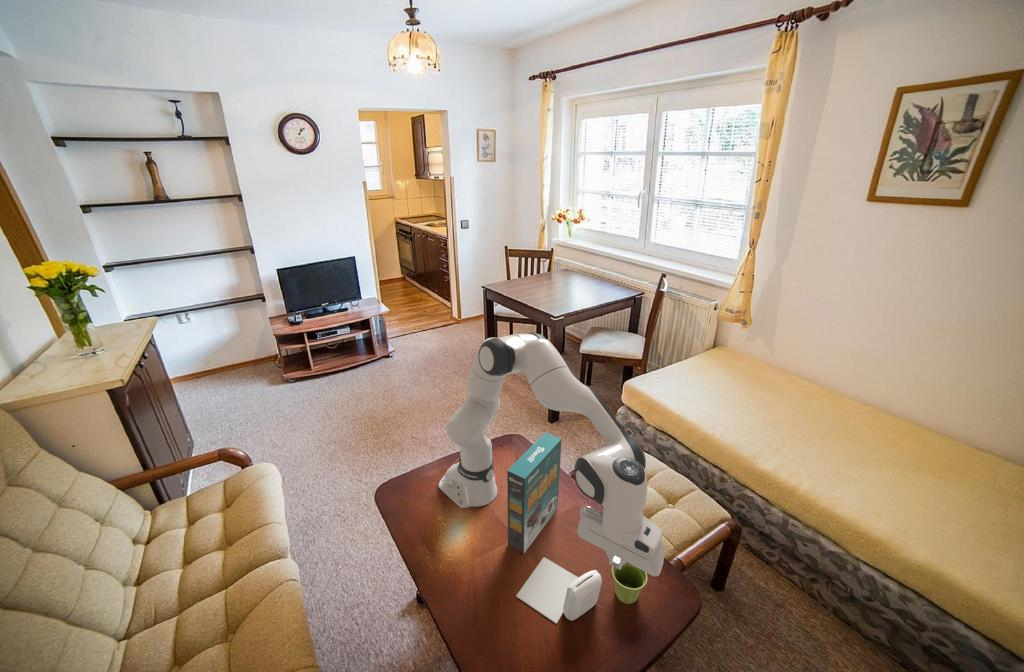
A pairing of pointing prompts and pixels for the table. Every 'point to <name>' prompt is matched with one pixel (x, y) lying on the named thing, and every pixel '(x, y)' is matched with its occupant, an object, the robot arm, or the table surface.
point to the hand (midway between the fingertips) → (615, 565)
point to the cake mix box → (533, 491)
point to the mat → (547, 589)
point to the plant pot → (628, 582)
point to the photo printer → (582, 595)
